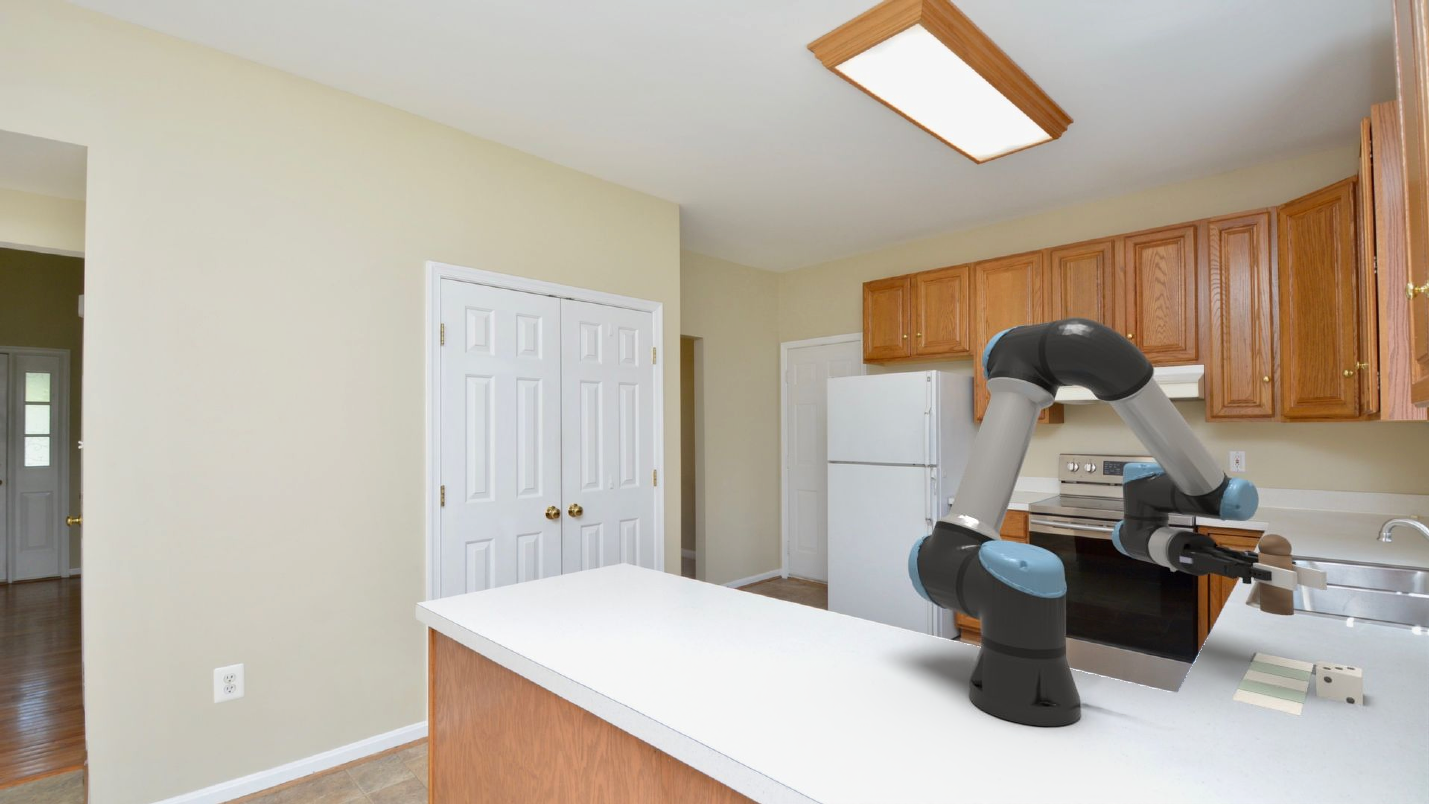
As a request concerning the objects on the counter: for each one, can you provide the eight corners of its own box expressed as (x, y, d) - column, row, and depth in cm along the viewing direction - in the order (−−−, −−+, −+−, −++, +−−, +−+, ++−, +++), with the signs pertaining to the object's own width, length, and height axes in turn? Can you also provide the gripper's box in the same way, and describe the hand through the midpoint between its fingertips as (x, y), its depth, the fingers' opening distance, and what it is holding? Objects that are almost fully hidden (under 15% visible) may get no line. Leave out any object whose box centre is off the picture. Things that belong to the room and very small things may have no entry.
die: (1316, 701, 100) (1315, 668, 100) (1318, 692, 103) (1317, 659, 103) (1363, 712, 96) (1361, 676, 96) (1363, 701, 100) (1361, 668, 100)
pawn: (1258, 611, 102) (1255, 534, 102) (1262, 606, 105) (1259, 531, 105) (1292, 616, 99) (1289, 537, 100) (1295, 611, 102) (1292, 534, 102)
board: (1228, 704, 98) (1228, 699, 98) (1254, 656, 119) (1254, 651, 119) (1304, 722, 92) (1303, 717, 92) (1317, 668, 113) (1316, 663, 113)
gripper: (1228, 570, 121) (1363, 605, 97) (1141, 572, 119) (1256, 607, 96) (1227, 529, 121) (1361, 554, 98) (1140, 531, 120) (1255, 556, 96)
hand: (1309, 580), depth 97 cm, fingers closed on pawn, 4 cm apart
